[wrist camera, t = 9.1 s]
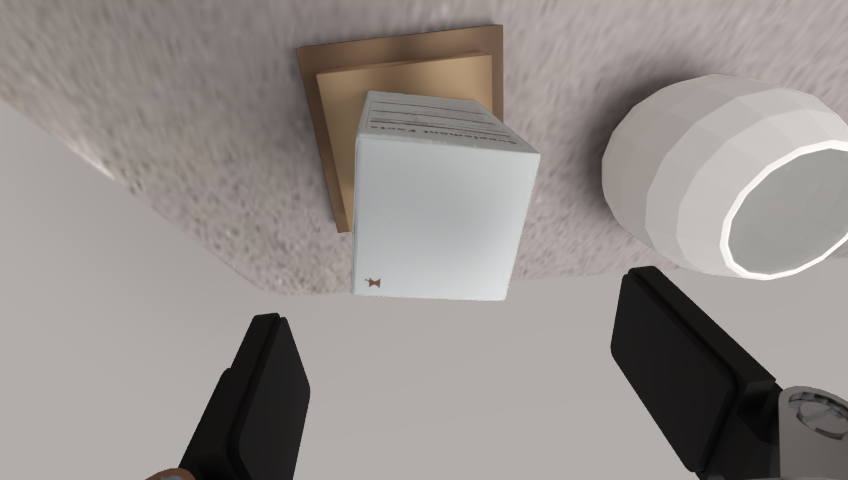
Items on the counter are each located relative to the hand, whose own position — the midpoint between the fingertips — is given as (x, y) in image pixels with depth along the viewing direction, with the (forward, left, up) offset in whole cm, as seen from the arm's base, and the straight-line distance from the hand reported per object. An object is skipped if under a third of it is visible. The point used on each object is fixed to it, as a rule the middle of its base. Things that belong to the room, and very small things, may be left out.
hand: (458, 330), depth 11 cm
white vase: (-21, +4, -24) cm, 32 cm away
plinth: (0, 0, -24) cm, 24 cm away
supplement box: (0, 0, -19) cm, 19 cm away
